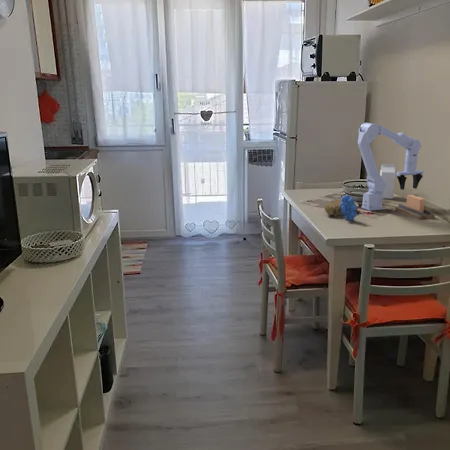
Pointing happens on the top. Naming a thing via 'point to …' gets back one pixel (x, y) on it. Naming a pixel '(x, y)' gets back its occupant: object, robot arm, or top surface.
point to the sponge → (335, 207)
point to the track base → (414, 212)
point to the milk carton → (388, 179)
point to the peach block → (415, 203)
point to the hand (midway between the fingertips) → (408, 188)
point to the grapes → (348, 207)
